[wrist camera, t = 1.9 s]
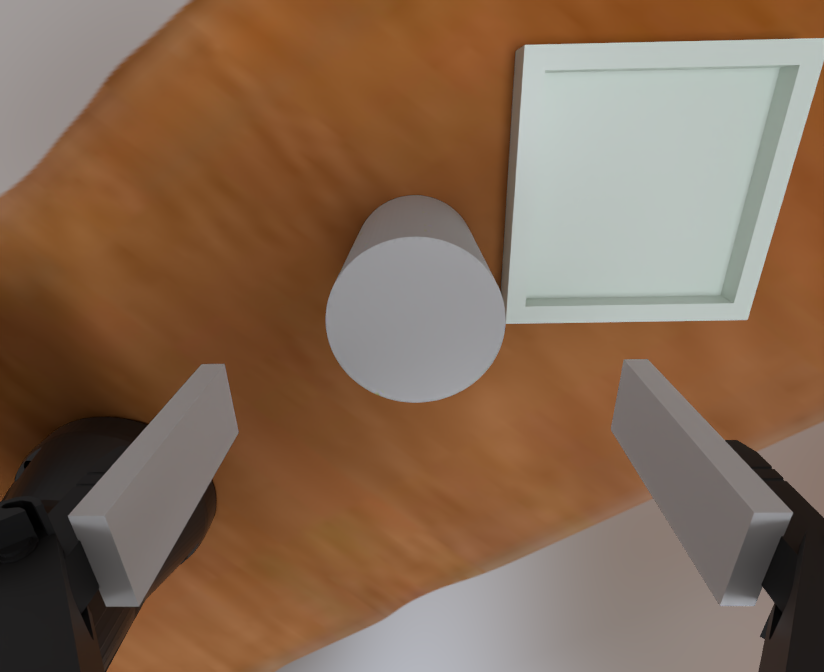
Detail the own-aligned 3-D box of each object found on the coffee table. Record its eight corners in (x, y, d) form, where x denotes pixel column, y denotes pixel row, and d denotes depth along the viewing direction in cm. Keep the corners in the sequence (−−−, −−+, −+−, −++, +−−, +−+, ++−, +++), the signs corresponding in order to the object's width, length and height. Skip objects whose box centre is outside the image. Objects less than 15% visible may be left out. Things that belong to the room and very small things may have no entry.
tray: (499, 310, 34) (505, 323, 32) (515, 51, 27) (524, 45, 25) (724, 306, 34) (747, 319, 32) (795, 44, 27) (830, 37, 25)
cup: (335, 222, 32) (294, 277, 21) (450, 175, 30) (472, 207, 19) (383, 327, 35) (369, 423, 24) (489, 288, 33) (526, 370, 23)
